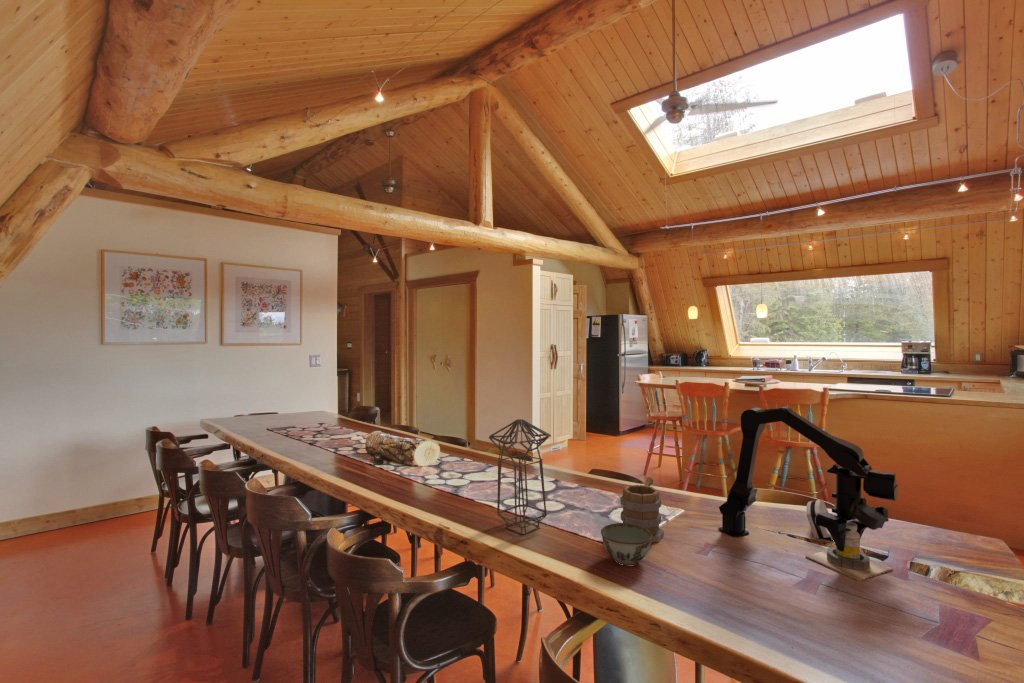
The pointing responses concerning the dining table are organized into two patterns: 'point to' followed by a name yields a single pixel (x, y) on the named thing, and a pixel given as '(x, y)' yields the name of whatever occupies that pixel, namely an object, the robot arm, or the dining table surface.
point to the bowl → (626, 542)
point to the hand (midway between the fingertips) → (847, 549)
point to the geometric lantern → (528, 428)
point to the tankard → (642, 508)
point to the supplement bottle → (851, 544)
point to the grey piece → (812, 511)
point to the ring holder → (850, 564)
